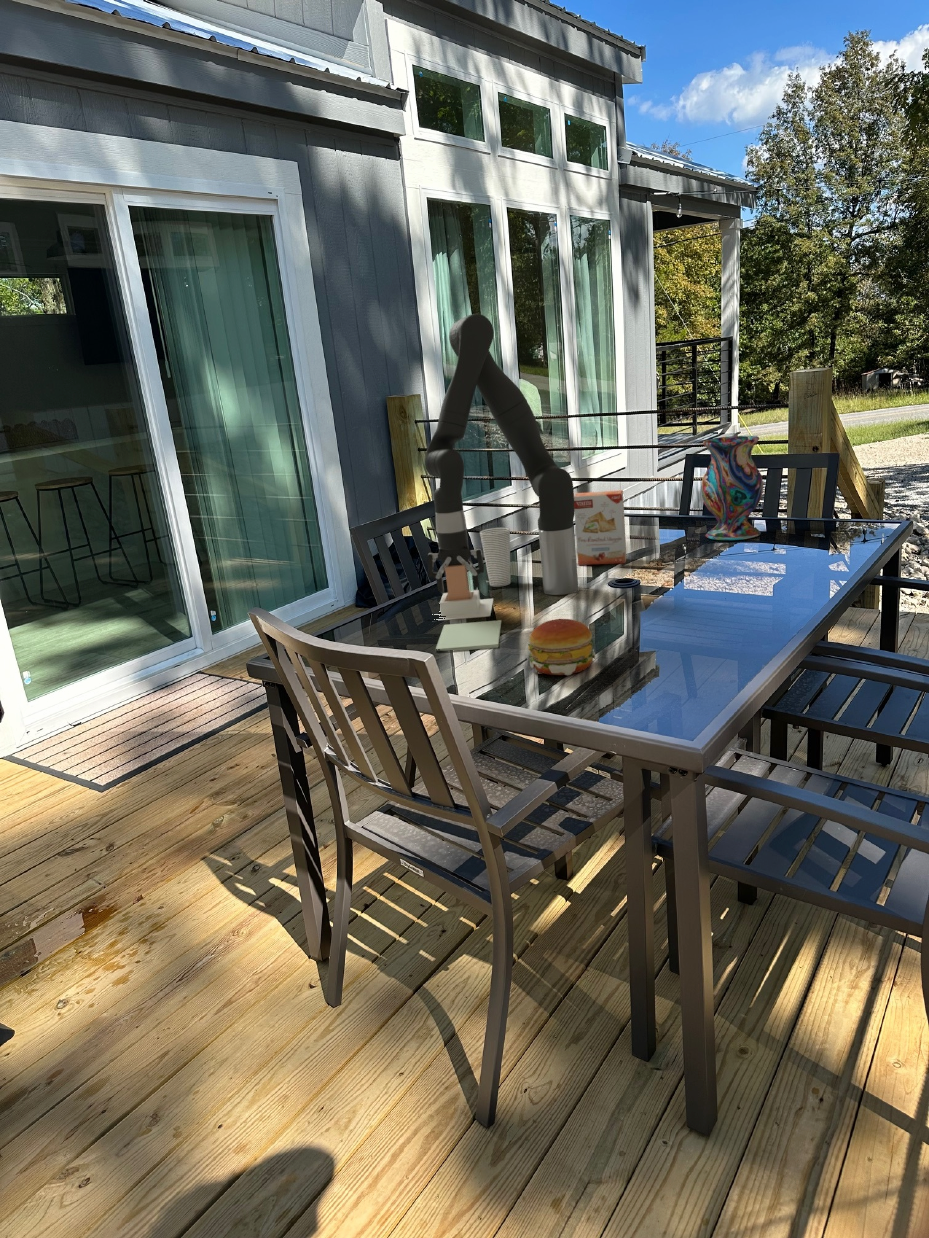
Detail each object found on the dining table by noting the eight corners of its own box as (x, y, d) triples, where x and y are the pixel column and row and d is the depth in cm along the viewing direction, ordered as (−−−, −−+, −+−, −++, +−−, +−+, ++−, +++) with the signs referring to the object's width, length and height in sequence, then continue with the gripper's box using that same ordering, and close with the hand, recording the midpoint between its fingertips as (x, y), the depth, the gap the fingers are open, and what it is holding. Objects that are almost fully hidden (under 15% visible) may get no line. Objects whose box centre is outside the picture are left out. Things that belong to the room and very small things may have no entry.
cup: (512, 587, 240) (507, 532, 235) (482, 588, 241) (476, 534, 237) (517, 579, 247) (511, 526, 243) (488, 581, 249) (482, 528, 245)
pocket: (493, 600, 228) (492, 585, 227) (490, 618, 213) (488, 602, 212) (434, 605, 230) (432, 591, 229) (426, 623, 215) (424, 607, 214)
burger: (590, 653, 181) (587, 608, 178) (602, 675, 168) (599, 627, 165) (527, 661, 181) (522, 615, 178) (534, 683, 168) (529, 635, 165)
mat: (501, 623, 208) (501, 620, 208) (498, 647, 191) (497, 644, 191) (444, 628, 210) (444, 624, 209) (436, 652, 192) (435, 649, 192)
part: (471, 606, 224) (466, 561, 220) (469, 611, 219) (464, 565, 215) (452, 607, 224) (446, 563, 221) (450, 613, 219) (444, 567, 216)
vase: (690, 537, 274) (687, 442, 266) (735, 527, 281) (733, 434, 273) (730, 545, 258) (727, 444, 250) (776, 534, 265) (776, 435, 257)
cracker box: (577, 566, 254) (572, 496, 248) (580, 561, 260) (575, 492, 254) (625, 563, 251) (621, 492, 245) (627, 558, 256) (623, 489, 250)
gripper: (480, 523, 218) (487, 584, 223) (425, 528, 220) (433, 589, 224) (478, 529, 211) (485, 592, 216) (421, 534, 213) (429, 597, 217)
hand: (458, 590), depth 220 cm, fingers open, 8 cm apart
